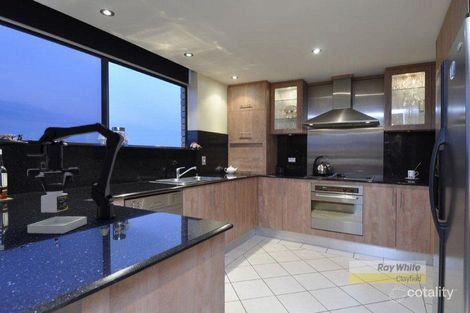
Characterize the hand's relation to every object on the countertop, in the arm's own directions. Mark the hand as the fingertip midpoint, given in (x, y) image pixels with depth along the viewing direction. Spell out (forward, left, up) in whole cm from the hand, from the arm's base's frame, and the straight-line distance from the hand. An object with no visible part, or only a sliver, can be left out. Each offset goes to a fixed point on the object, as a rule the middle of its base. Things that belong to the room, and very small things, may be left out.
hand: (54, 191), depth 114 cm
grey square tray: (-11, +12, -13) cm, 21 cm away
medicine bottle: (0, 0, -9) cm, 9 cm away
